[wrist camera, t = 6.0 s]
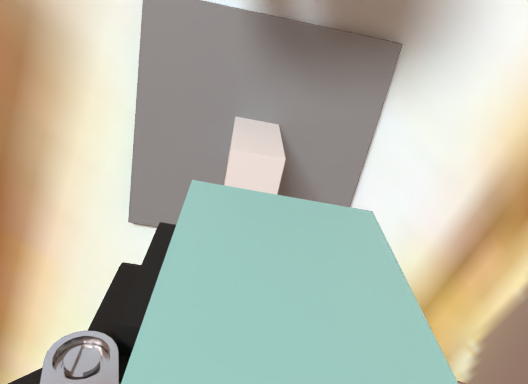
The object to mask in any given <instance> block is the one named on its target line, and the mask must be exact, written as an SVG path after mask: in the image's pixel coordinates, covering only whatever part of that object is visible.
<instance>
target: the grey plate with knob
mask: <svg viewBox="0 0 528 384" xmlns="http://www.w3.org/2000/svg"><path fill="white" fill-rule="evenodd" d="M402 45H403V44H400V43H396V42H391V41H387V40H382V39H378V38H373V37H368V36H364V35H359V34H355V33H350V32H345V31H341V30H336V29H331V28H327V27H322V26H318V25H313V24H308V23H304V22H299V21H294V20H290V19H285V18H281V17H276V16H271V15H267V14H262V13H257V12H253V11H248V10H244V9H239V8H234V7H230V6H225V5H220V4H216V3H211V2H207V1H202V0H143V7H142V22H141V38H140V53H139V68H138V83H137V98H136V114H135V129H134V144H133V159H132V174H131V190H130V205H129V220H128V222H130V223H137V224H143V225H150V226H156V227H158V225H159V223H160V222H163V223H169V224H175V225H176V224H177V222H178V219H179V216H180V213H181V210H182V207H183V204H184V202H185V199H186V196H187V193H188V190H189V187H190V184H191V182H192V180H196V181H202V182H208V183H214V184H219V185H225V186H231V187H236V188H242V189H248V190H253V191H259V192H265V193H271V194H276V195H282V196H288V197H293V198H299V199H305V200H311V201H316V202H322V203H328V204H333V205H339V206H345V207H350V204H351V201H352V198H353V195H354V192H355V189H356V185H357V182H358V179H359V176H360V173H361V170H362V167H363V164H364V161H365V158H366V155H367V152H368V149H369V146H370V143H371V140H372V136H373V133H374V130H375V127H376V124H377V121H378V118H379V115H380V112H381V109H382V106H383V103H384V100H385V97H386V94H387V91H388V88H389V84H390V81H391V78H392V75H393V72H394V69H395V66H396V63H397V60H398V57H399V54H400V51H401V48H402Z"/></svg>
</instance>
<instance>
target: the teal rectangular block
mask: <svg viewBox="0 0 528 384" xmlns="http://www.w3.org/2000/svg"><path fill="white" fill-rule="evenodd" d="M121 384H458V382H457V380H456V378H455V376H454V374H453V372H452V370H451V368H450V366H449V364H448V362H447V360H446V358H445V356H444V354H443V352H442V350H441V348H440V346H439V344H438V342H437V340H436V338H435V336H434V334H433V332H432V330H431V328H430V326H429V324H428V322H427V320H426V318H425V316H424V314H423V312H422V310H421V308H420V306H419V304H418V302H417V300H416V298H415V296H414V294H413V292H412V290H411V288H410V286H409V284H408V282H407V280H406V278H405V276H404V274H403V272H402V270H401V268H400V266H399V264H398V262H397V260H396V258H395V256H394V254H393V252H392V250H391V248H390V246H389V244H388V242H387V240H386V238H385V236H384V234H383V232H382V230H381V228H380V226H379V224H378V222H377V220H376V218H375V216H374V214H373V212H372V211H368V210H362V209H356V208H351V207H345V206H339V205H333V204H328V203H322V202H316V201H311V200H305V199H299V198H293V197H288V196H282V195H276V194H271V193H265V192H259V191H253V190H248V189H242V188H236V187H231V186H225V185H219V184H214V183H208V182H202V181H196V180H192V182H191V184H190V187H189V190H188V193H187V196H186V199H185V202H184V204H183V207H182V210H181V213H180V216H179V219H178V222H177V224H176V227H175V230H174V233H173V236H172V239H171V242H170V244H169V247H168V250H167V253H166V256H165V259H164V262H163V265H162V267H161V270H160V273H159V276H158V279H157V282H156V285H155V287H154V290H153V293H152V296H151V299H150V302H149V305H148V307H147V310H146V313H145V316H144V319H143V322H142V325H141V328H140V330H139V333H138V336H137V339H136V342H135V345H134V348H133V350H132V353H131V356H130V359H129V362H128V365H127V368H126V370H125V373H124V376H123V379H122V382H121Z"/></svg>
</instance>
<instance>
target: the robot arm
mask: <svg viewBox="0 0 528 384" xmlns="http://www.w3.org/2000/svg"><path fill="white" fill-rule="evenodd" d="M175 227H176V225H175V224H169V223H163V222H160V223H159V225H158V227H157V230H156V232H155V234H154V237H153V239H152V242H151V244H150V246H149V249H148V251H147V253H146V256H145V258H144V260H143V263H142V265H136V264H130V263H122V264H121V265H120V267H119V269H118V271H117V273H116V275H115V277H114V279H113V281H112V283H111V285H110V287H109V289H108V291H107V293H106V295H105V297H104V299H103V301H102V303H101V305H100V307H99V309H98V311H97V313H96V315H95V317H94V319H93V321H92V323H91V325H90V327H89V329H88V331H80V332H75V333H72V334H69V335H67V336H64V337H62V338H61V339H60V340H58V341H57V342H55V343H54V344H53V345H52V347H51V348H50V349H49V350H48V351H47V354H46V356H45V359H44V363H43V368H41V369H39V370H36V371H34V372H32V373H30V374H28V375H26V376H24V377H21V378H19V379H17V380H15V381H13V382H11V383H8V384H121V382H122V379H123V376H124V373H125V370H126V368H127V365H128V362H129V359H130V356H131V353H132V350H133V348H134V345H135V342H136V339H137V336H138V333H139V330H140V328H141V325H142V322H143V319H144V316H145V313H146V310H147V307H148V305H149V302H150V299H151V296H152V293H153V290H154V287H155V285H156V282H157V279H158V276H159V273H160V270H161V267H162V265H163V262H164V259H165V256H166V253H167V250H168V247H169V244H170V242H171V239H172V236H173V233H174V230H175ZM457 382H458V384H465V383H463V382H460V381H457Z"/></svg>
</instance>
